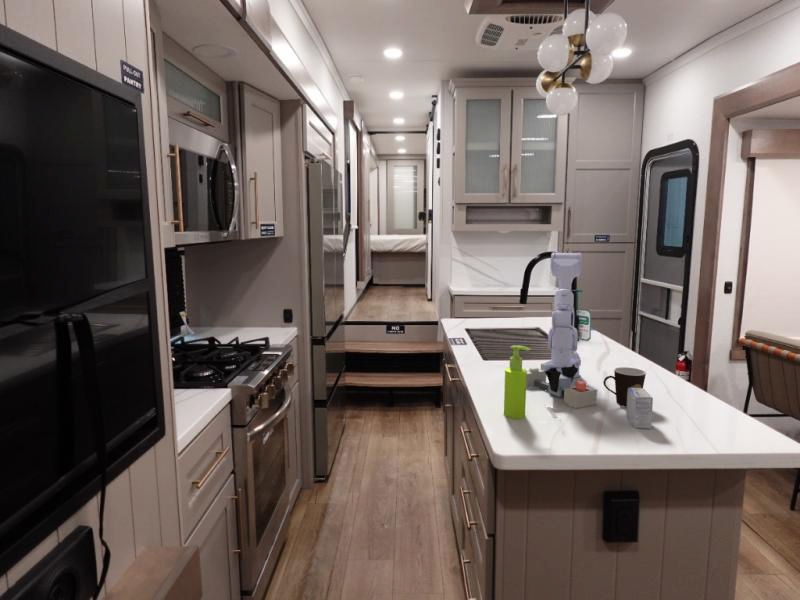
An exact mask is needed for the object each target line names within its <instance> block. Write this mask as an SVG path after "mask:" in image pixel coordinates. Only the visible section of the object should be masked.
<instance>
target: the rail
mask: <svg viewBox="0 0 800 600" xmlns="http://www.w3.org/2000/svg"><path fill="white" fill-rule="evenodd" d="M533 387H536V388H538V387H539V388H538V389H540V388H541V390H543V391H545V390H546V391H545V392H548V390H549V382H547V381H546V382H545V381H542V380H540V379H538V380H534V386H533ZM561 399H564V391H562V397H561Z"/></svg>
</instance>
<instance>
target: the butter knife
mask: <svg viewBox="0 0 800 600" xmlns="http://www.w3.org/2000/svg"><path fill="white" fill-rule="evenodd" d="M546 410H547V411H548V412H549V413H550V414H551V416H552V418H553V419H558V416H557V414H556V413H555V408H551V407H547V408H546Z"/></svg>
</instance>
